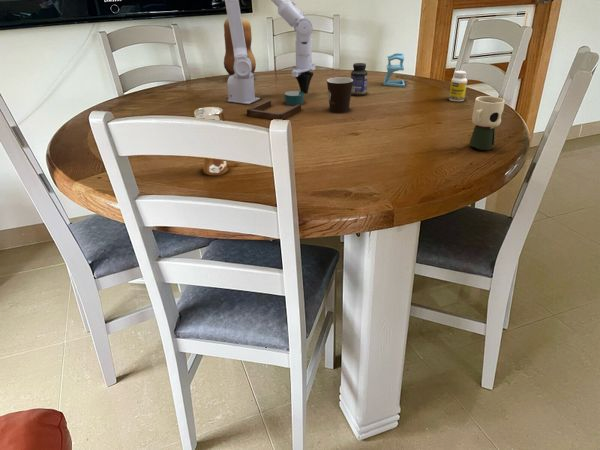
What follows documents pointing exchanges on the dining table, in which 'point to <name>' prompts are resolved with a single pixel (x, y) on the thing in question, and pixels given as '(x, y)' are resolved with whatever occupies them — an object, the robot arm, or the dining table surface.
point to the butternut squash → (229, 46)
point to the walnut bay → (258, 112)
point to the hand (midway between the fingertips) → (304, 93)
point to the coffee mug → (339, 94)
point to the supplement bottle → (458, 86)
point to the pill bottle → (359, 79)
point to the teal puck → (294, 98)
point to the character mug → (486, 121)
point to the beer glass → (212, 165)
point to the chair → (394, 68)
